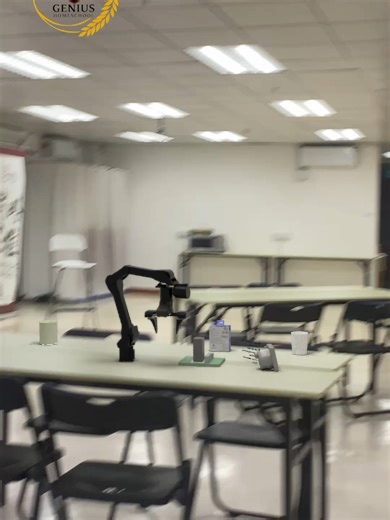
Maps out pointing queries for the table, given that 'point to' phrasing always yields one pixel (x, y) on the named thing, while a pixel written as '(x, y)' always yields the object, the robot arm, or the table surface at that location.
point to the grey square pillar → (198, 349)
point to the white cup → (299, 342)
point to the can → (48, 332)
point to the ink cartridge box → (220, 337)
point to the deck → (208, 362)
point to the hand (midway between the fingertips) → (166, 333)
